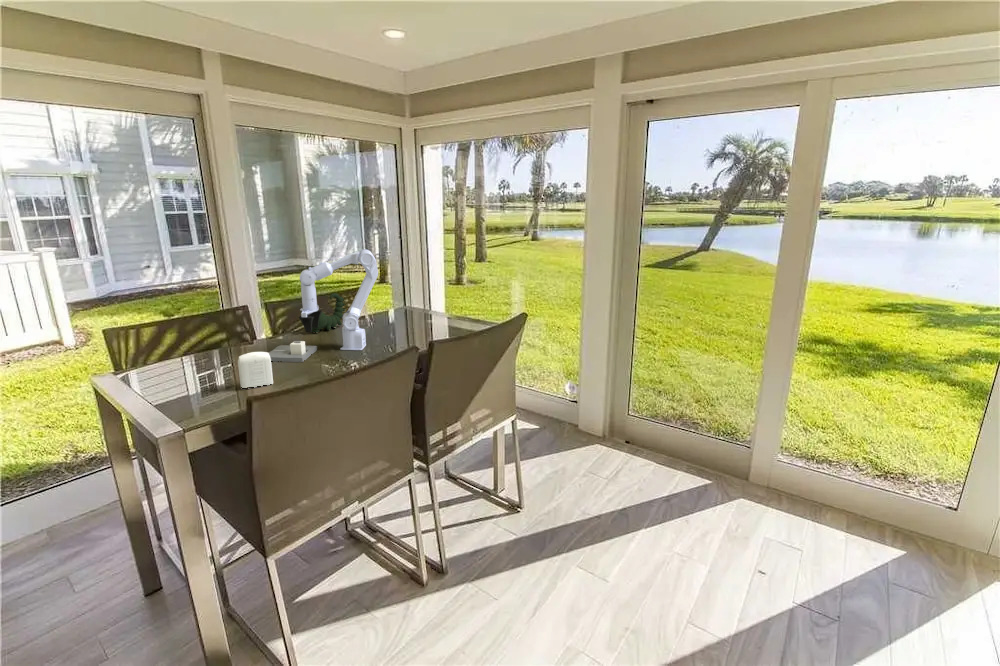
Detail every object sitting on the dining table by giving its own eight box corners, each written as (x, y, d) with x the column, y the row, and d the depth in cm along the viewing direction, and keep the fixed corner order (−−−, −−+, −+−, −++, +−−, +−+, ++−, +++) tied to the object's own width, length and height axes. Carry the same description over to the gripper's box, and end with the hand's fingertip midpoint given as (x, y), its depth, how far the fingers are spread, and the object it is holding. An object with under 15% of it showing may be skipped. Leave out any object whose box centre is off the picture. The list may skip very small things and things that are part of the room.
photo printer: (272, 381, 167) (268, 348, 164) (274, 385, 164) (270, 351, 160) (240, 386, 162) (235, 353, 158) (241, 390, 158) (236, 356, 155)
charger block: (306, 354, 196) (304, 339, 194) (302, 358, 191) (300, 343, 190) (295, 354, 196) (294, 339, 194) (291, 358, 191) (289, 342, 189)
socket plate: (317, 349, 202) (316, 345, 202) (302, 362, 187) (302, 357, 186) (280, 349, 202) (279, 344, 201) (262, 361, 186) (262, 356, 186)
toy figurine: (335, 326, 245) (297, 334, 222) (335, 291, 241) (296, 294, 219) (349, 329, 241) (311, 336, 219) (349, 293, 237) (310, 297, 215)
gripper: (306, 295, 202) (309, 325, 206) (292, 302, 188) (295, 334, 192) (322, 295, 202) (325, 325, 206) (310, 302, 188) (312, 334, 192)
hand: (312, 329), depth 199 cm, fingers open, 7 cm apart
